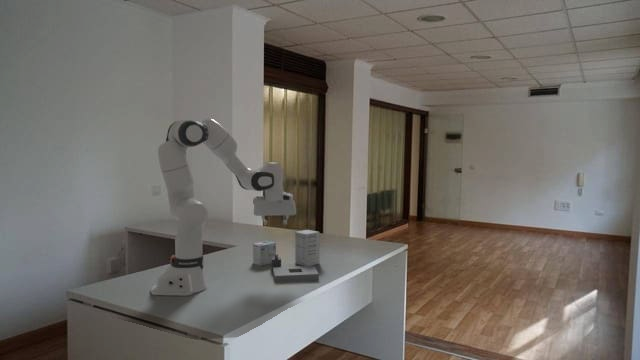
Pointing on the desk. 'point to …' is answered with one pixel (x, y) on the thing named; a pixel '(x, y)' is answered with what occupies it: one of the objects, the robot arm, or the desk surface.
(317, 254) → the supplement box
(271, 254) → the light bulb box
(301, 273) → the socket plate
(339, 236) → the desk surface
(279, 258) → the plug
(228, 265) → the desk surface
